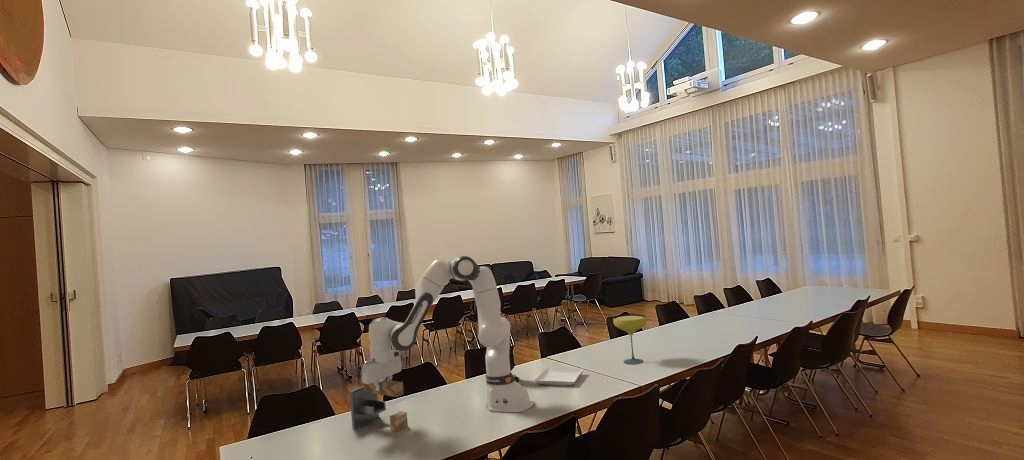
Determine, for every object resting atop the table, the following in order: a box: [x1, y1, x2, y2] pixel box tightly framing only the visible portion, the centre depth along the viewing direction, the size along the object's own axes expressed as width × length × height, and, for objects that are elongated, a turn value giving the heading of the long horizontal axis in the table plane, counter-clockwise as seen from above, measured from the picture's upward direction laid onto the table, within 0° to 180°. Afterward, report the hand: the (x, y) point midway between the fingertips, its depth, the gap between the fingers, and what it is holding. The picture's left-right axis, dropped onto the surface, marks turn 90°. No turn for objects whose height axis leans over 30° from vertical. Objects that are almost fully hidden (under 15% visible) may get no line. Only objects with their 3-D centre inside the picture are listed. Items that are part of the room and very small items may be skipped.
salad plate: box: [534, 368, 585, 386], centre depth 248 cm, size 21×21×3 cm
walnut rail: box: [363, 378, 405, 398], centre depth 206 cm, size 20×4×5 cm, turn 57°
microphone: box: [509, 338, 520, 383], centre depth 254 cm, size 14×14×25 cm
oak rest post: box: [389, 410, 409, 433], centre depth 202 cm, size 4×6×6 cm, turn 150°
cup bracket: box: [349, 385, 387, 430], centre depth 210 cm, size 10×14×16 cm
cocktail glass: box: [612, 313, 647, 365], centre depth 269 cm, size 18×18×25 cm
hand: (383, 388), depth 206 cm, fingers closed on walnut rail, 4 cm apart
